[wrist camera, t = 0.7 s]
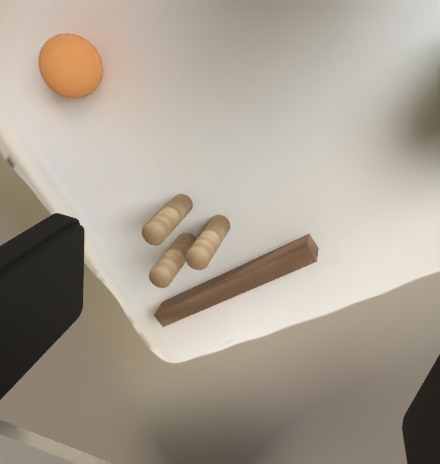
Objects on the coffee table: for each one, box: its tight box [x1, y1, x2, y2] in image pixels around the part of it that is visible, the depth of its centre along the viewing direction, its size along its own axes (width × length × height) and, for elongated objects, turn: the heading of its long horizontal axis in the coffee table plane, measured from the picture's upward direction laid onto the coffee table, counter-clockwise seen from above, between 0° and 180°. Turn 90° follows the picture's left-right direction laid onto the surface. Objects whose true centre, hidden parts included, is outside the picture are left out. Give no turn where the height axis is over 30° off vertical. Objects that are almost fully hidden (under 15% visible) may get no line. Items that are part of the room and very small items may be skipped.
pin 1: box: [149, 233, 196, 288], centre depth 46 cm, size 2×2×8 cm
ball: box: [39, 34, 102, 98], centre depth 41 cm, size 6×6×6 cm
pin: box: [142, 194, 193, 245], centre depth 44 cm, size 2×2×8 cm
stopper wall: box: [154, 234, 318, 327], centre depth 49 cm, size 2×22×3 cm, turn 124°
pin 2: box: [185, 215, 230, 270], centre depth 44 cm, size 2×2×8 cm
